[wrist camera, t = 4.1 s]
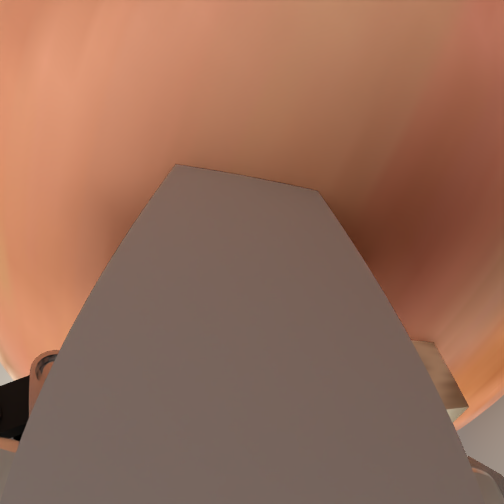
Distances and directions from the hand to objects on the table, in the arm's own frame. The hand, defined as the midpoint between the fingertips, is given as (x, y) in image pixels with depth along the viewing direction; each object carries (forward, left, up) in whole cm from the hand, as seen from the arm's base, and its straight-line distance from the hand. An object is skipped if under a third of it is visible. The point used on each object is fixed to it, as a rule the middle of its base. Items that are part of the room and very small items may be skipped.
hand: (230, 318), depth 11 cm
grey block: (0, 0, -5) cm, 5 cm away
